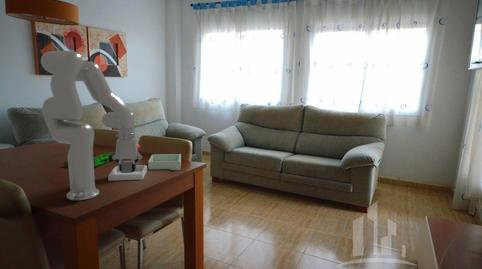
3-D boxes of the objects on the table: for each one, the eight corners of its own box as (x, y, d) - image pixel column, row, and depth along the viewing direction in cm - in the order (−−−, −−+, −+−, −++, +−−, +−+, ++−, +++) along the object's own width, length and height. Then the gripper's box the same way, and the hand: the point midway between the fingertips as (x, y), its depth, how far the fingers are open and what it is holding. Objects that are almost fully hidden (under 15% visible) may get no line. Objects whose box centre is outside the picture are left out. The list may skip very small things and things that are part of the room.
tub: (142, 181, 153) (142, 174, 152) (108, 182, 150) (108, 175, 149) (147, 171, 168) (146, 165, 167) (116, 172, 166) (116, 166, 165)
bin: (179, 169, 172) (179, 161, 171) (148, 170, 170) (148, 162, 169) (180, 162, 189) (180, 154, 188) (152, 162, 186) (152, 154, 185)
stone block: (131, 172, 156) (131, 163, 155) (121, 172, 155) (121, 163, 154) (133, 170, 161) (133, 160, 160) (123, 170, 160) (123, 160, 159)
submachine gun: (49, 162, 171) (89, 162, 166) (84, 151, 199) (120, 151, 195) (50, 170, 171) (90, 171, 167) (85, 158, 200) (120, 159, 195)
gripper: (106, 137, 150) (108, 173, 153) (143, 137, 153) (143, 173, 155) (110, 135, 157) (111, 169, 160) (145, 135, 160) (145, 169, 163)
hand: (127, 171), depth 158 cm, fingers closed on stone block, 5 cm apart
